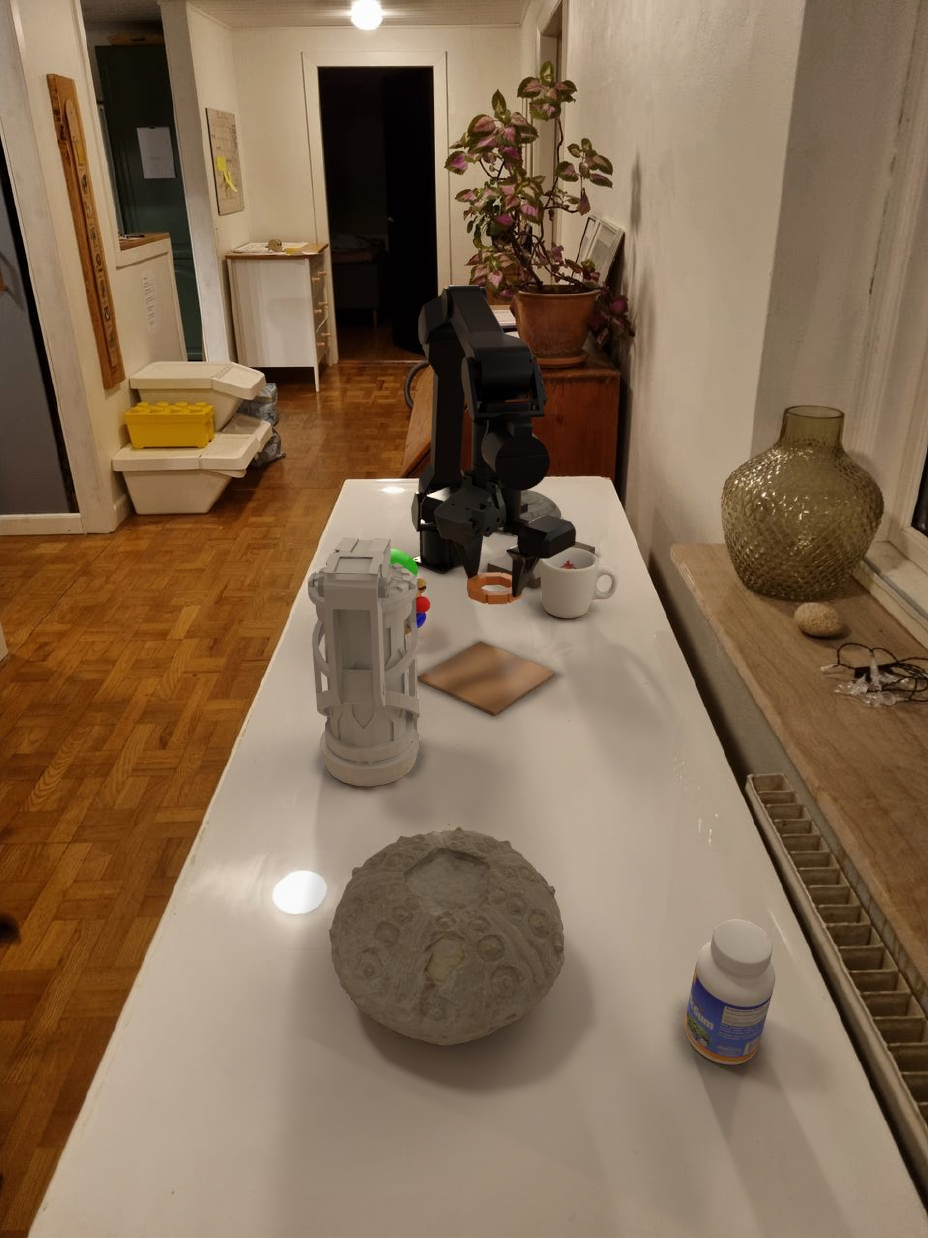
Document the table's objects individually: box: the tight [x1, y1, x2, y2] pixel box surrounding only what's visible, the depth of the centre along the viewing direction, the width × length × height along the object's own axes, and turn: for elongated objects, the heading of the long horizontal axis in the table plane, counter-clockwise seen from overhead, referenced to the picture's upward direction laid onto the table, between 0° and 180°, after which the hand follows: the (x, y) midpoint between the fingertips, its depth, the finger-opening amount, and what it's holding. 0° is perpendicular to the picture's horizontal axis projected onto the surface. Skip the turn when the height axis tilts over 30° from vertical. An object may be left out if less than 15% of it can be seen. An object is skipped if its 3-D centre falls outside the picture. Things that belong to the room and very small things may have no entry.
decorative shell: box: [328, 826, 565, 1046], centre depth 70 cm, size 18×18×10 cm
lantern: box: [307, 537, 421, 788], centre depth 90 cm, size 13×10×25 cm
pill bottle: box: [684, 918, 776, 1066], centre depth 65 cm, size 5×5×10 cm
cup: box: [540, 547, 619, 619], centre depth 127 cm, size 11×8×8 cm
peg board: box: [486, 540, 596, 589], centre depth 141 cm, size 9×16×5 cm, turn 140°
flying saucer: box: [521, 489, 562, 521], centre depth 157 cm, size 15×15×6 cm
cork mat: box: [417, 640, 556, 716], centre depth 112 cm, size 12×12×1 cm
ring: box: [466, 572, 523, 605], centre depth 109 cm, size 6×6×1 cm
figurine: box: [390, 548, 431, 636], centre depth 118 cm, size 11×10×12 cm
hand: (493, 588), depth 109 cm, fingers closed on ring, 6 cm apart
